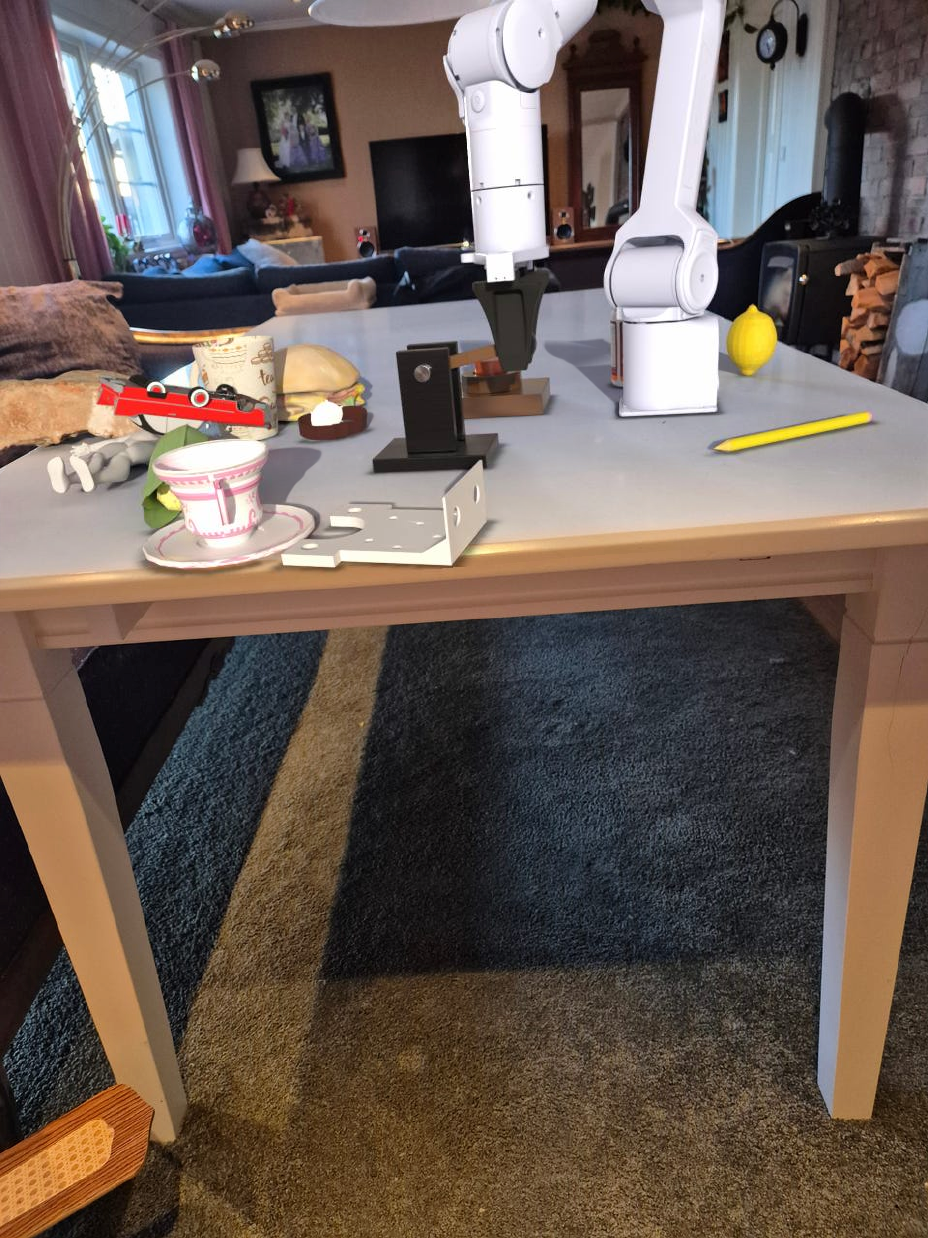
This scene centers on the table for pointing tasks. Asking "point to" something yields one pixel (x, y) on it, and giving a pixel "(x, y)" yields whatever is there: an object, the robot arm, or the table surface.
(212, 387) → the mug
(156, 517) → the edible corn
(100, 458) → the character figure
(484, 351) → the lever
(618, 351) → the pill bottle
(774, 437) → the pencil
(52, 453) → the table surface
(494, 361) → the press button
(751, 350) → the fruit
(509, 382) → the button block
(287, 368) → the burger
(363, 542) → the bracket
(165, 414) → the toy car
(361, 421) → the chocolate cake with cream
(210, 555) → the teacup
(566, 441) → the table surface
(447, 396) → the lever stand
